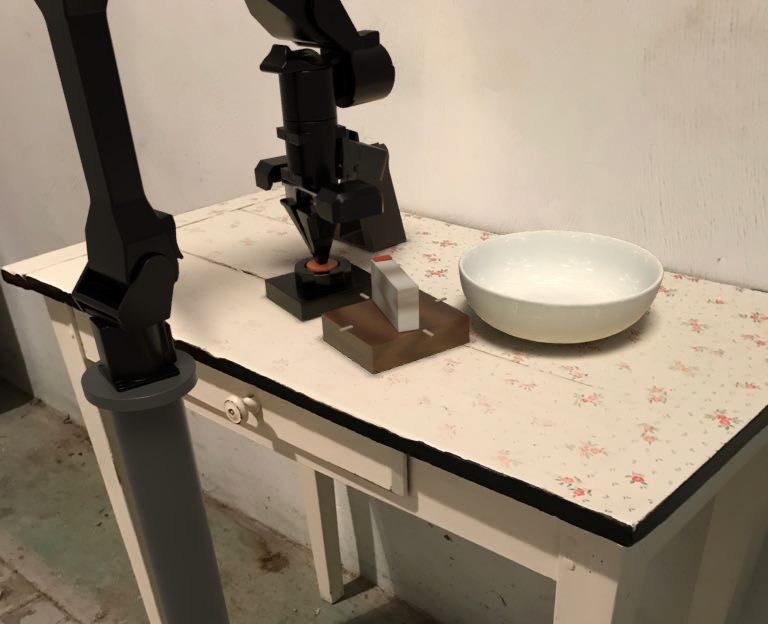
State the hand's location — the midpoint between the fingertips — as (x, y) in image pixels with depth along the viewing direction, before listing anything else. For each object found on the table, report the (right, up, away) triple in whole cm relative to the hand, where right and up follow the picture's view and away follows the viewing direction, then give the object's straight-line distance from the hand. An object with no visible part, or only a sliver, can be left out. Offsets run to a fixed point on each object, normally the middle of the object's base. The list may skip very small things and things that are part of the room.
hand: (322, 263), depth 95 cm
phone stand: (+5, +9, +19) cm, 21 cm away
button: (0, -1, +1) cm, 2 cm away
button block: (0, -3, +3) cm, 4 cm away
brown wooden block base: (+8, -11, -8) cm, 16 cm away
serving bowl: (+26, -9, -6) cm, 28 cm away
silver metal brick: (+8, -8, -10) cm, 15 cm away
